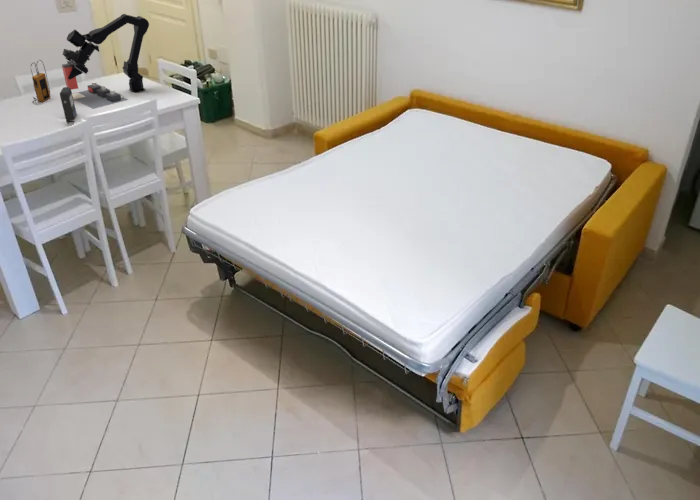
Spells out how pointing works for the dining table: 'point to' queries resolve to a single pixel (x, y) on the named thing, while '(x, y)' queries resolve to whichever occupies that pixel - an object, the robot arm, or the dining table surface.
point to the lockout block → (67, 70)
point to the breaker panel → (97, 96)
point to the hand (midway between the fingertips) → (67, 77)
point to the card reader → (68, 104)
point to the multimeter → (41, 86)
